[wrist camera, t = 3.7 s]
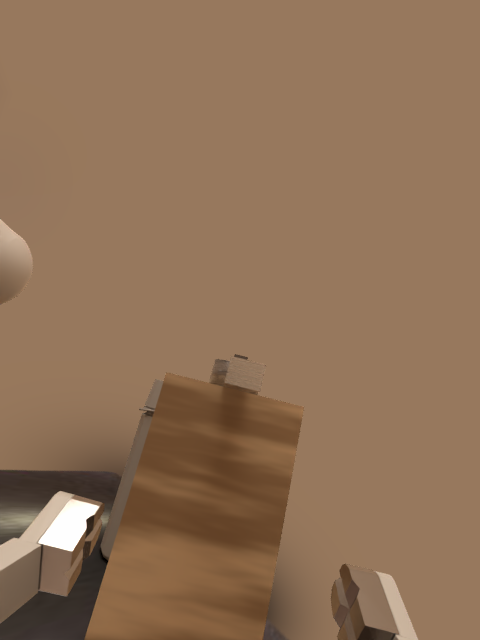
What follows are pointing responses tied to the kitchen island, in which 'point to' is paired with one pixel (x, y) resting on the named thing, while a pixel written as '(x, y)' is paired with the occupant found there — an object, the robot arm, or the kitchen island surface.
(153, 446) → the wooden block
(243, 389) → the ratchet wrench
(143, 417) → the water bottle
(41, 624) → the kitchen island surface
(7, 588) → the robot arm
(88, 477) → the kitchen island surface
